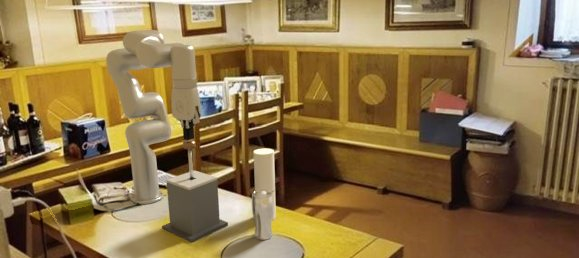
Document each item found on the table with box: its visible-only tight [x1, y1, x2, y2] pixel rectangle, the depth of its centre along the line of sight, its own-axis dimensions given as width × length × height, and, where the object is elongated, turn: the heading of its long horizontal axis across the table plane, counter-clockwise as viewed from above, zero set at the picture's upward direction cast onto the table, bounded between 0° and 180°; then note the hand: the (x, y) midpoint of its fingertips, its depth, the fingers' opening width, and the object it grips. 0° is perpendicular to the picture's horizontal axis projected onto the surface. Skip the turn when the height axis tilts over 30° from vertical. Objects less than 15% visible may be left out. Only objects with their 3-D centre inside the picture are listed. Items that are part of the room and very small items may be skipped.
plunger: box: [182, 139, 196, 180], centre depth 160 cm, size 9×9×17 cm
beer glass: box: [251, 190, 273, 241], centre depth 157 cm, size 7×7×15 cm
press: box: [161, 169, 229, 244], centre depth 164 cm, size 16×17×18 cm
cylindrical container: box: [253, 147, 277, 221], centre depth 169 cm, size 7×7×25 cm
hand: (189, 138), depth 157 cm, fingers closed
